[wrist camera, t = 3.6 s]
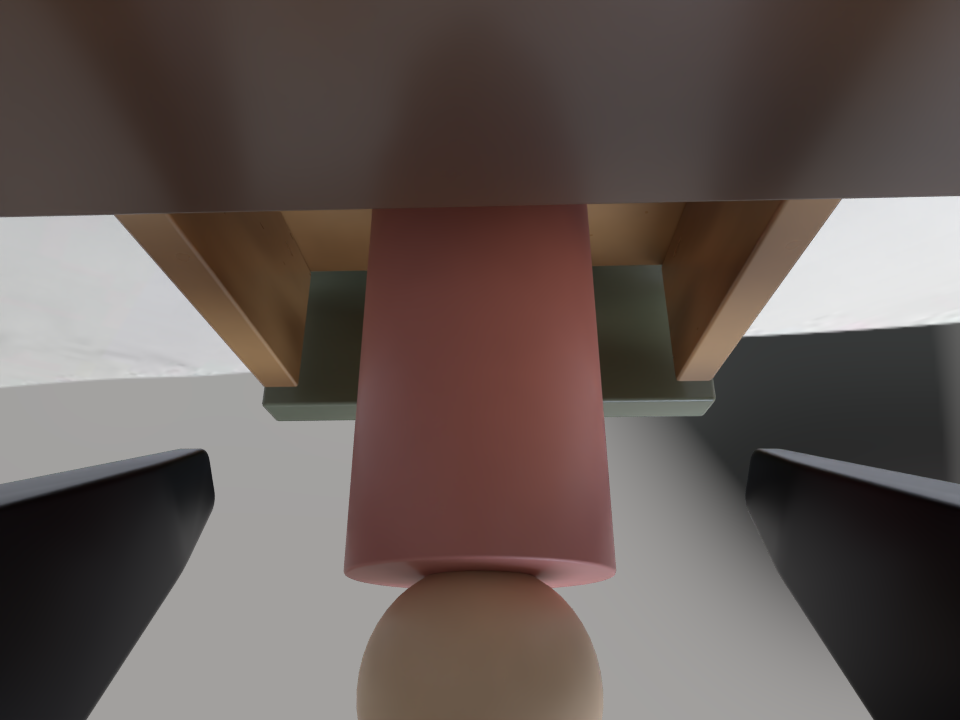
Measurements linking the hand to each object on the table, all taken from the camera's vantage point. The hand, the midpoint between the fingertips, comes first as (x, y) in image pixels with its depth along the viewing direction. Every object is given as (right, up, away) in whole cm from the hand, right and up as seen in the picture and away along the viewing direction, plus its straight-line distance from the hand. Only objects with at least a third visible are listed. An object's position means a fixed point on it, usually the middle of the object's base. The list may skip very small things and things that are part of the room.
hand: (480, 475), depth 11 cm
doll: (0, +5, +2) cm, 6 cm away
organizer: (0, +11, -7) cm, 13 cm away
